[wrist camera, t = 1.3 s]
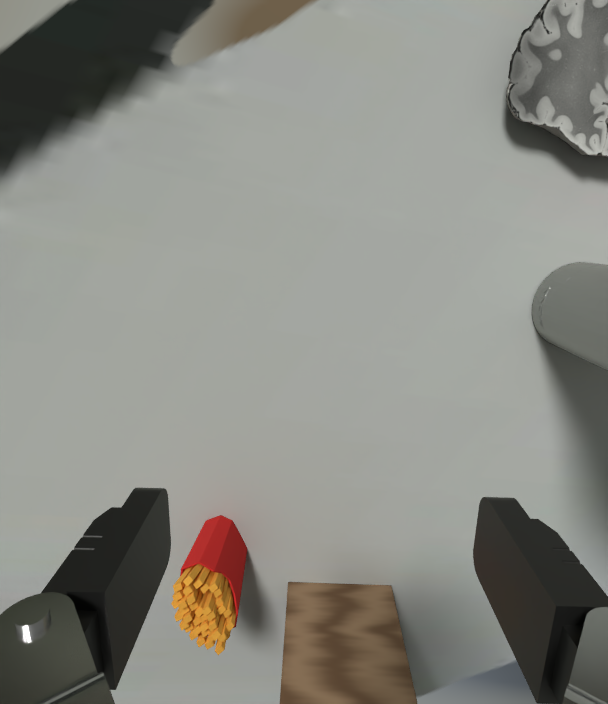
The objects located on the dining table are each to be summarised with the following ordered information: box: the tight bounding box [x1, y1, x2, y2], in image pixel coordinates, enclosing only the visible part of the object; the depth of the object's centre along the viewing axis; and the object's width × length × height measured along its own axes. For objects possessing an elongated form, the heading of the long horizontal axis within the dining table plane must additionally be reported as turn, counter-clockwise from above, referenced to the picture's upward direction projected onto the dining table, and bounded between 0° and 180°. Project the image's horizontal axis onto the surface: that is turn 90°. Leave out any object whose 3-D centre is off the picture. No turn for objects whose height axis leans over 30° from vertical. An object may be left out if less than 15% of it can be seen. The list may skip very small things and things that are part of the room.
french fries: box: [171, 515, 247, 655], centre depth 52 cm, size 9×4×13 cm, turn 23°
